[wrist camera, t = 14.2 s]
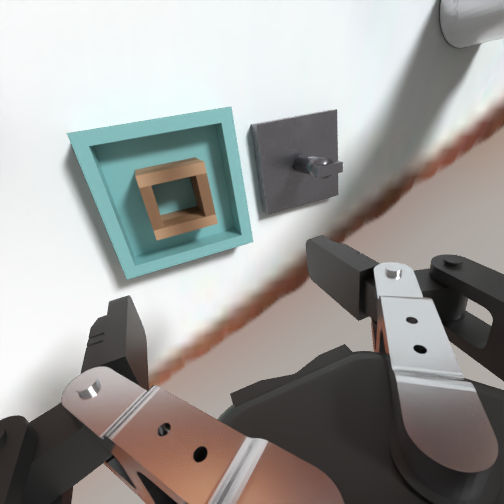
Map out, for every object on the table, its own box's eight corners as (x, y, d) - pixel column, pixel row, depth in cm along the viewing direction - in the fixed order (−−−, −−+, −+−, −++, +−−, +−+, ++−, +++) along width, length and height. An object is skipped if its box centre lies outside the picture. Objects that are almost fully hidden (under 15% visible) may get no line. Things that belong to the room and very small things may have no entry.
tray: (221, 108, 29) (231, 106, 26) (243, 232, 36) (253, 241, 33) (74, 132, 26) (66, 133, 23) (127, 265, 32) (126, 279, 29)
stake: (329, 110, 34) (373, 106, 27) (331, 192, 38) (369, 205, 32) (251, 124, 31) (280, 123, 25) (263, 211, 36) (290, 229, 29)
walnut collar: (194, 157, 29) (204, 161, 26) (207, 212, 32) (217, 223, 28) (135, 169, 28) (135, 176, 24) (153, 226, 31) (156, 240, 27)
